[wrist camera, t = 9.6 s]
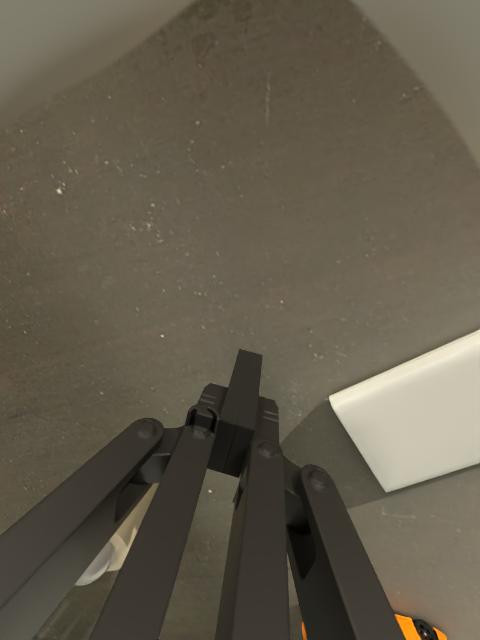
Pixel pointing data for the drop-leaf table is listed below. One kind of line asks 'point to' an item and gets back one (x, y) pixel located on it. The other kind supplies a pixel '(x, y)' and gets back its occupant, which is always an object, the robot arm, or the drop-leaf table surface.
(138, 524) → the salt shaker
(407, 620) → the toy car
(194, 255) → the drop-leaf table surface
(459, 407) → the hard drive
